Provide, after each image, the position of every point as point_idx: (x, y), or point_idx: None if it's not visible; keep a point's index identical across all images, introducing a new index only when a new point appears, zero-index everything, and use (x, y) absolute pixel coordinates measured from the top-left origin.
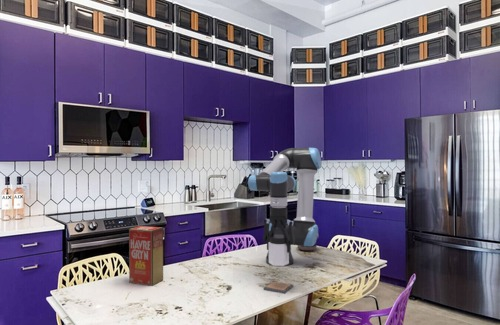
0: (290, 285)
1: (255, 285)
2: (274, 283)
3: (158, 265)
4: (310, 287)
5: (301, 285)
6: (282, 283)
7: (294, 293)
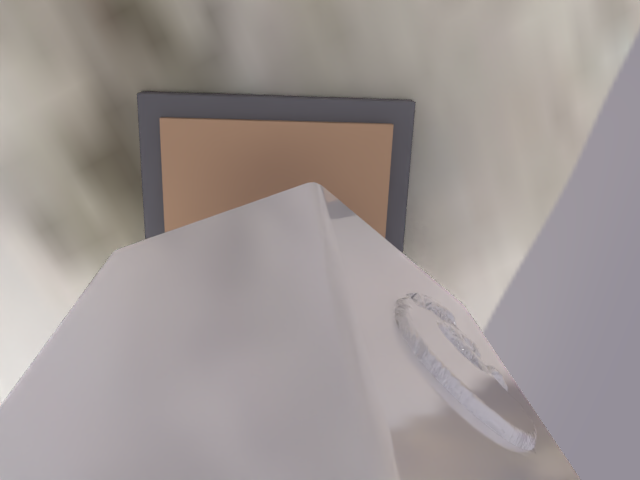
0: (392, 145)
1: (8, 262)
2: (203, 190)
3: None
4: (604, 37)
5: (491, 16)
6: (290, 147)
7: (477, 289)
